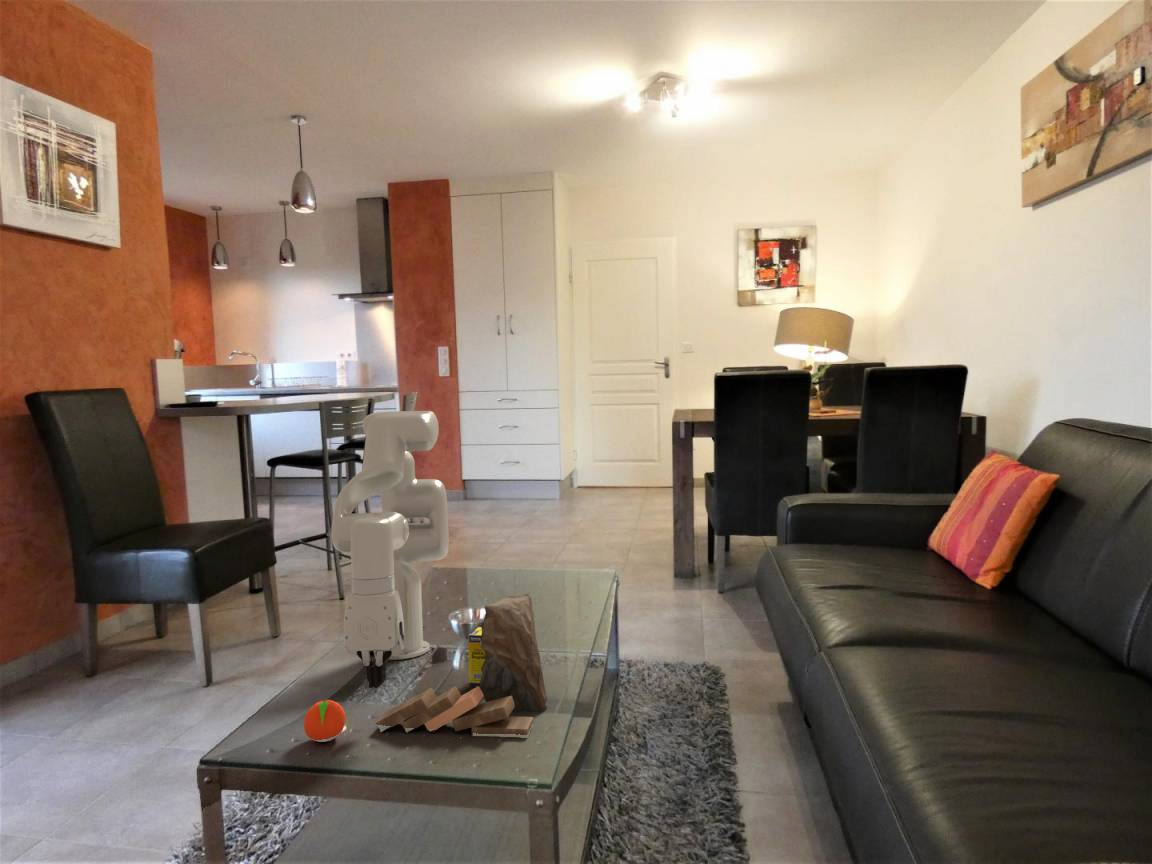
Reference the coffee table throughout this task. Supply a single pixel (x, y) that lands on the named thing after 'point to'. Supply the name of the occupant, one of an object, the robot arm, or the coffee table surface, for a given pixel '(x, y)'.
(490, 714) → the domino
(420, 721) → the domino
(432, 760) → the coffee table surface
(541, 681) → the brown rough lump
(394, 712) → the domino
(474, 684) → the supplement box
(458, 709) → the domino
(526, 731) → the domino
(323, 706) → the clementine
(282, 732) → the coffee table surface
